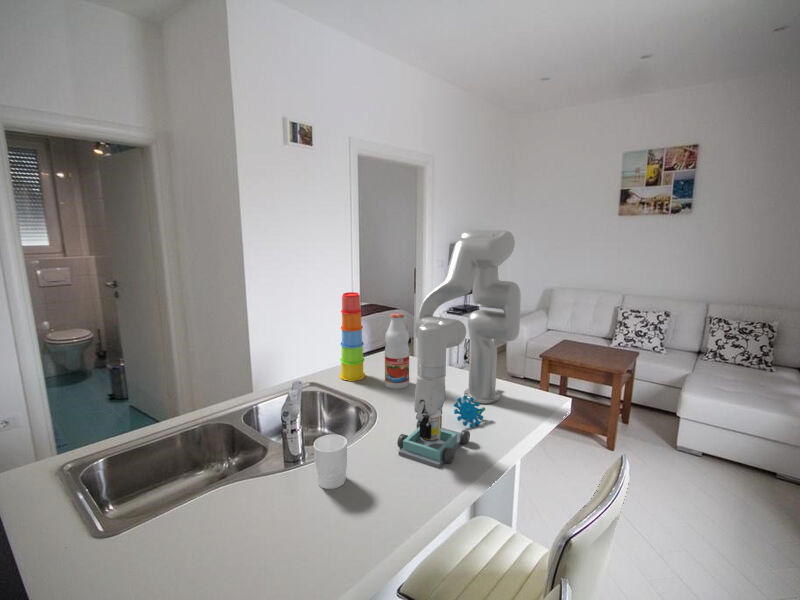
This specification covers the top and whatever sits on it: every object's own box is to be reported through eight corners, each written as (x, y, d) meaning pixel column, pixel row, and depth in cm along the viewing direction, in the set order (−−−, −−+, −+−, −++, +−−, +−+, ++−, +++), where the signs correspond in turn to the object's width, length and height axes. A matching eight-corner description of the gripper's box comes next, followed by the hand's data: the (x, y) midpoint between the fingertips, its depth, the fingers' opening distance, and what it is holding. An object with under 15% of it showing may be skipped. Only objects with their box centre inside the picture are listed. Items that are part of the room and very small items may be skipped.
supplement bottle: (428, 431, 117) (428, 397, 115) (444, 438, 113) (445, 403, 111) (416, 439, 113) (416, 404, 111) (432, 446, 109) (433, 410, 107)
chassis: (423, 425, 126) (424, 414, 126) (471, 438, 119) (471, 427, 118) (393, 453, 111) (393, 440, 111) (445, 470, 103) (445, 457, 103)
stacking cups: (370, 375, 169) (369, 292, 163) (354, 383, 160) (353, 295, 154) (350, 370, 174) (348, 290, 168) (334, 378, 166) (332, 293, 159)
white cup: (320, 495, 94) (319, 455, 92) (311, 476, 101) (309, 439, 99) (353, 485, 98) (352, 446, 96) (341, 467, 104) (340, 431, 103)
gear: (459, 426, 123) (452, 394, 128) (451, 433, 127) (444, 402, 133) (491, 425, 127) (482, 394, 132) (481, 431, 131) (474, 401, 137)
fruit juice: (406, 379, 164) (406, 311, 159) (411, 388, 155) (411, 316, 150) (383, 381, 163) (382, 311, 158) (386, 390, 154) (386, 317, 149)
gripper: (433, 358, 118) (432, 417, 122) (403, 377, 104) (403, 443, 107) (457, 363, 115) (455, 423, 118) (429, 383, 100) (428, 451, 103)
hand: (430, 432), depth 112 cm, fingers closed on supplement bottle, 5 cm apart
